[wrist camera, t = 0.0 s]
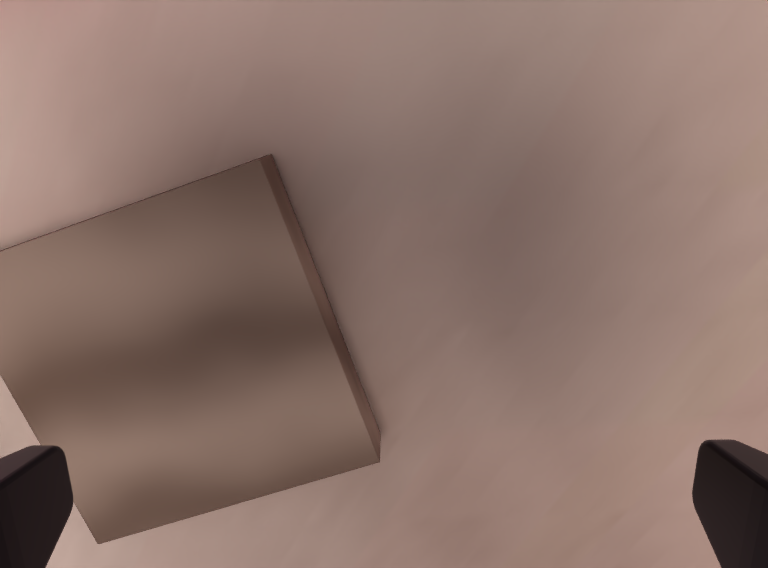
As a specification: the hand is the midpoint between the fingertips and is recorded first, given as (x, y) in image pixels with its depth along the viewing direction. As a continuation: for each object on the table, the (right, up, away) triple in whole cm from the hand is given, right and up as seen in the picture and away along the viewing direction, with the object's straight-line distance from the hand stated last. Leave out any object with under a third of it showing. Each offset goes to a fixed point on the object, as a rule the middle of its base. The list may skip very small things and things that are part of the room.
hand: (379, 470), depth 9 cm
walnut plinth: (-8, 0, +15) cm, 17 cm away
